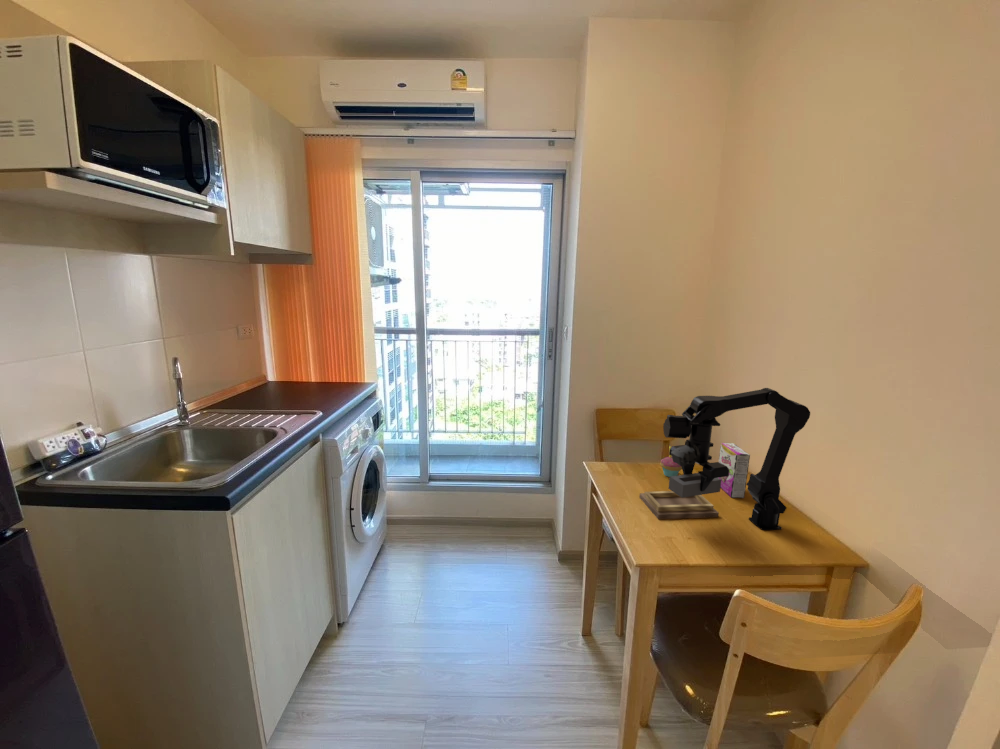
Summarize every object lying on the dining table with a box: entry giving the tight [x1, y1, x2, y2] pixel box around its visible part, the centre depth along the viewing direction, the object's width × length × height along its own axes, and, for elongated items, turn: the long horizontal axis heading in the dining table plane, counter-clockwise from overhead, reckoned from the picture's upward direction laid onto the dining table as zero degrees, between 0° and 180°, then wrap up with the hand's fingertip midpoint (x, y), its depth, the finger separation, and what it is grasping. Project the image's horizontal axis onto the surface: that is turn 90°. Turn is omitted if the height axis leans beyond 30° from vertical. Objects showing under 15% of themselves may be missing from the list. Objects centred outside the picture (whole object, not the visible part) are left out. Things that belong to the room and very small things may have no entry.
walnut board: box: [639, 490, 720, 520], centre depth 137 cm, size 20×14×3 cm
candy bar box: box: [718, 442, 751, 499], centre depth 148 cm, size 11×5×16 cm, turn 179°
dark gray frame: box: [668, 472, 721, 498], centre depth 127 cm, size 14×6×4 cm, turn 107°
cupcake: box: [659, 445, 682, 478], centre depth 161 cm, size 9×8×12 cm
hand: (694, 486), depth 127 cm, fingers closed on dark gray frame, 6 cm apart
